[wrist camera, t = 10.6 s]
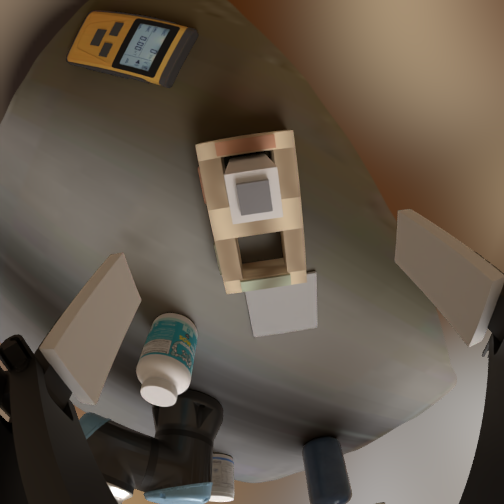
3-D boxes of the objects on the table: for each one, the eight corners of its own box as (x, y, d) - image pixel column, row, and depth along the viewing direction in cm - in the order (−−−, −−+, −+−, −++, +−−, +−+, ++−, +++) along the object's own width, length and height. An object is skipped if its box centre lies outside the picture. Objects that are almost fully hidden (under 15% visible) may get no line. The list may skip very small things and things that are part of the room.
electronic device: (100, 14, 21) (88, 6, 18) (201, 33, 24) (196, 24, 21) (73, 67, 24) (59, 63, 21) (170, 92, 27) (162, 88, 24)
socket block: (225, 278, 38) (224, 295, 34) (198, 143, 30) (192, 145, 26) (300, 266, 37) (307, 283, 34) (286, 129, 30) (293, 130, 26)
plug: (235, 190, 33) (232, 227, 21) (230, 157, 31) (223, 176, 20) (268, 185, 33) (284, 219, 21) (264, 152, 31) (278, 168, 19)
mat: (253, 335, 42) (253, 337, 42) (243, 281, 38) (243, 283, 38) (316, 325, 42) (317, 327, 42) (315, 271, 38) (316, 272, 37)
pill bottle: (202, 344, 43) (194, 413, 31) (160, 346, 43) (142, 411, 31) (192, 308, 40) (177, 379, 28) (146, 311, 40) (120, 377, 28)
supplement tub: (218, 464, 68) (217, 503, 55) (195, 456, 64) (192, 497, 51) (240, 458, 65) (241, 499, 52) (217, 450, 62) (216, 494, 49)
